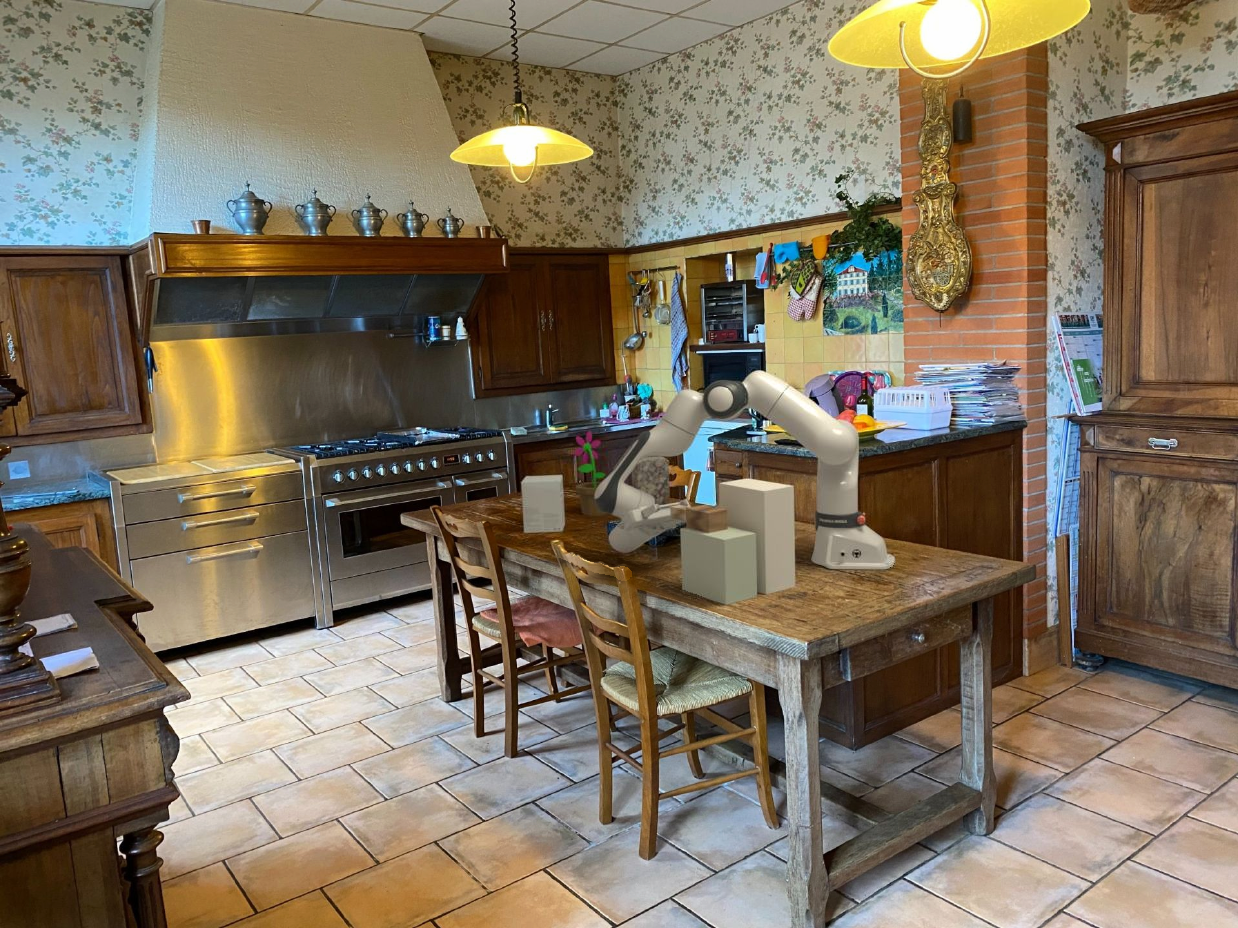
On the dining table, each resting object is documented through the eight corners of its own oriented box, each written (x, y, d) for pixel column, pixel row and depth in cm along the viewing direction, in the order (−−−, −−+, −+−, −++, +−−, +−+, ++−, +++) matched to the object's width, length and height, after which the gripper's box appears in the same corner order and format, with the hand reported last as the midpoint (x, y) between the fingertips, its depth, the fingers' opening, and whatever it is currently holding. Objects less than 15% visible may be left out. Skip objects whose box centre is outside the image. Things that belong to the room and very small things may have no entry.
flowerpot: (600, 507, 346) (597, 428, 342) (623, 512, 335) (619, 431, 330) (569, 513, 338) (565, 432, 334) (591, 518, 326) (587, 435, 322)
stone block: (640, 515, 327) (638, 460, 324) (631, 512, 333) (629, 458, 331) (672, 511, 333) (670, 457, 331) (662, 508, 340) (660, 455, 337)
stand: (682, 589, 233) (679, 489, 229) (749, 573, 246) (747, 478, 242) (726, 604, 219) (723, 498, 215) (795, 586, 232) (793, 485, 228)
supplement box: (565, 523, 320) (563, 474, 317) (562, 531, 307) (560, 480, 304) (528, 525, 320) (525, 475, 318) (523, 533, 307) (520, 482, 304)
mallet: (666, 522, 239) (665, 503, 238) (684, 518, 242) (683, 500, 242) (709, 533, 225) (708, 513, 224) (727, 529, 228) (727, 509, 227)
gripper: (610, 518, 247) (635, 498, 236) (670, 507, 258) (697, 488, 247) (618, 539, 245) (643, 521, 234) (678, 528, 256) (705, 510, 246)
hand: (671, 504), depth 241 cm, fingers open, 8 cm apart
